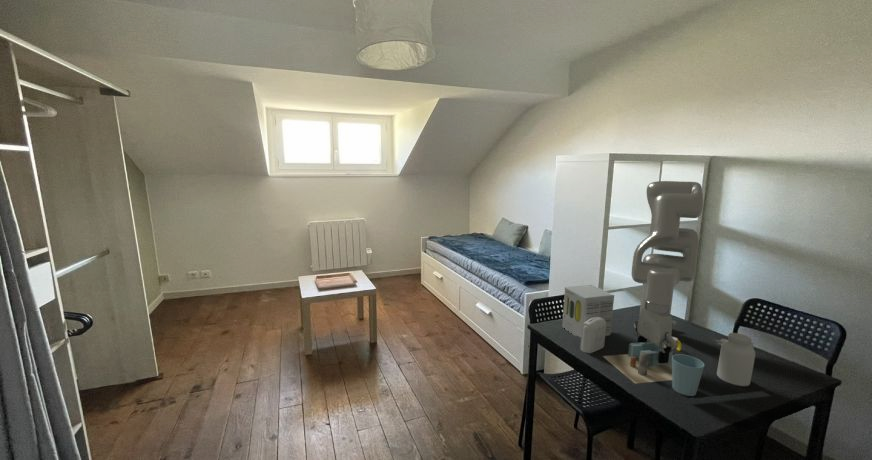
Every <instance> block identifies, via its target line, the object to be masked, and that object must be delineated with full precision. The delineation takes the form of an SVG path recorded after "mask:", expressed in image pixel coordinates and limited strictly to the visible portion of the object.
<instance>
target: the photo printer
mask: <svg viewBox="0 0 872 460" xmlns="http://www.w3.org/2000/svg"><path fill="white" fill-rule="evenodd" d="M605 332H606V321H605V320H604V319H603V318H600V317H594V318H591V319H589V320H587V321H586V322H585V323H584V324H583V325H582V332H581V337H580V346H579V350H580V351H582V352H583V353H585V354H586V353H587V354H593V353H594V352H596V351H599V350H601V349H603V348H604V347H605V342H606V336H605Z"/></svg>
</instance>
